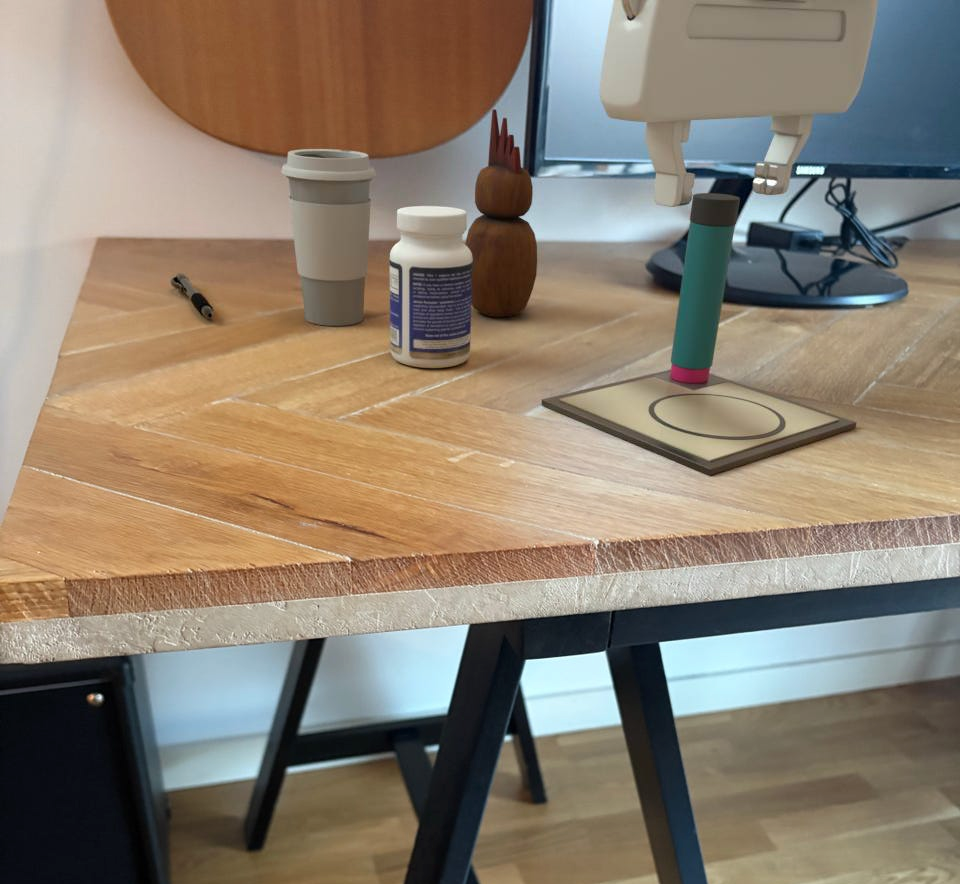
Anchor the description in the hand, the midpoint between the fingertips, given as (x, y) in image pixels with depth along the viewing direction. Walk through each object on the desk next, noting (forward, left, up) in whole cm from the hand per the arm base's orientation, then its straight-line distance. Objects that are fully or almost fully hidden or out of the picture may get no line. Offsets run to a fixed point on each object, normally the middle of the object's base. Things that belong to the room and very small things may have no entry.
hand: (722, 199), depth 62 cm
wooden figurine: (-1, -23, -12) cm, 26 cm away
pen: (+19, -38, -12) cm, 44 cm away
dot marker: (0, 0, -11) cm, 11 cm away
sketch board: (+5, +4, -12) cm, 14 cm away
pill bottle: (+12, -15, -12) cm, 22 cm away
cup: (+12, -28, -12) cm, 32 cm away
